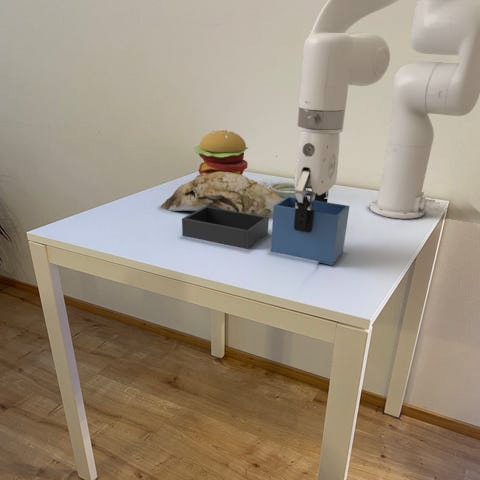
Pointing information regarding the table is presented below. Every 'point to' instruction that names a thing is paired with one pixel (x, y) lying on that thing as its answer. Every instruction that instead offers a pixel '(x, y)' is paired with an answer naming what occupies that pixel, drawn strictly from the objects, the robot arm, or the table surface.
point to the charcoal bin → (225, 227)
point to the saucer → (284, 189)
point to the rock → (224, 195)
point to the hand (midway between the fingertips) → (309, 223)
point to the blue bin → (310, 243)
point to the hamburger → (222, 152)
